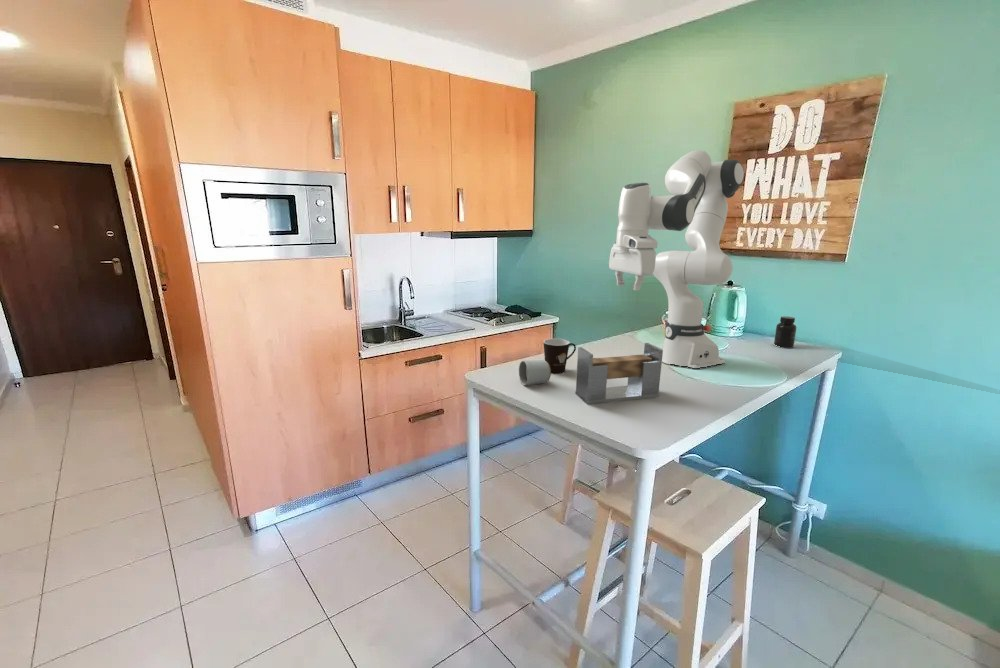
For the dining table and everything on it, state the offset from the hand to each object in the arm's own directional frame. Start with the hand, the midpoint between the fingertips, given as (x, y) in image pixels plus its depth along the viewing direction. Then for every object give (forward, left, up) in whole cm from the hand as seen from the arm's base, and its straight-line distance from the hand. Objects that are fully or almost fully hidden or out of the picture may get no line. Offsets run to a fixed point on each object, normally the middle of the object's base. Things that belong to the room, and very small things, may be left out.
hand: (628, 287), depth 130 cm
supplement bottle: (-84, -20, -29) cm, 91 cm away
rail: (+8, +12, -23) cm, 27 cm away
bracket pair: (+8, +12, -29) cm, 32 cm away
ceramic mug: (+28, -4, -29) cm, 41 cm away
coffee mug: (+16, -12, -29) cm, 36 cm away
